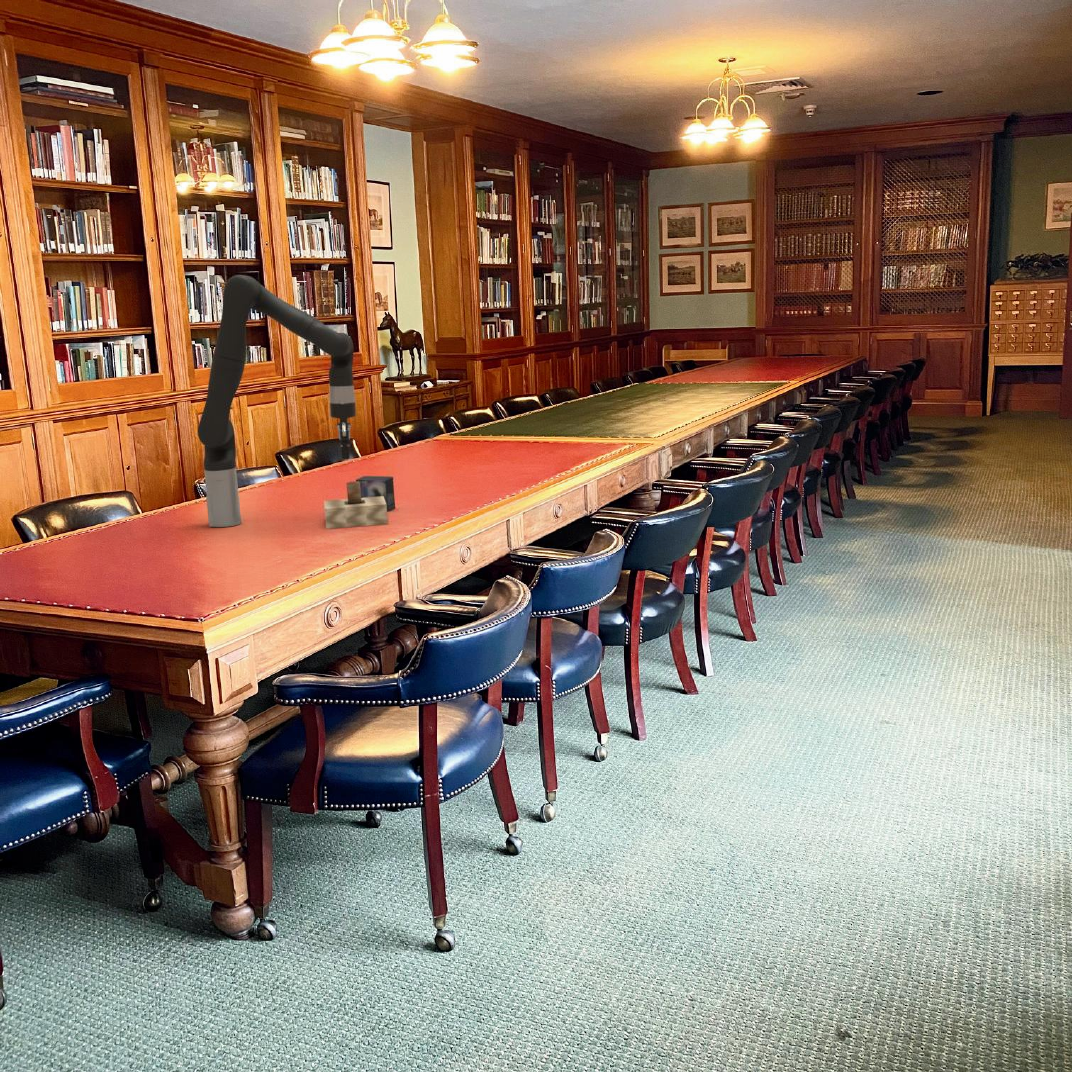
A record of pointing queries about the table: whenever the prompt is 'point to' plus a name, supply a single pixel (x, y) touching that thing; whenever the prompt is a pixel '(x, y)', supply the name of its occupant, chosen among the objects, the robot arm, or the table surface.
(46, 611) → the table surface
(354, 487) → the peg
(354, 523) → the seat board
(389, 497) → the small box
